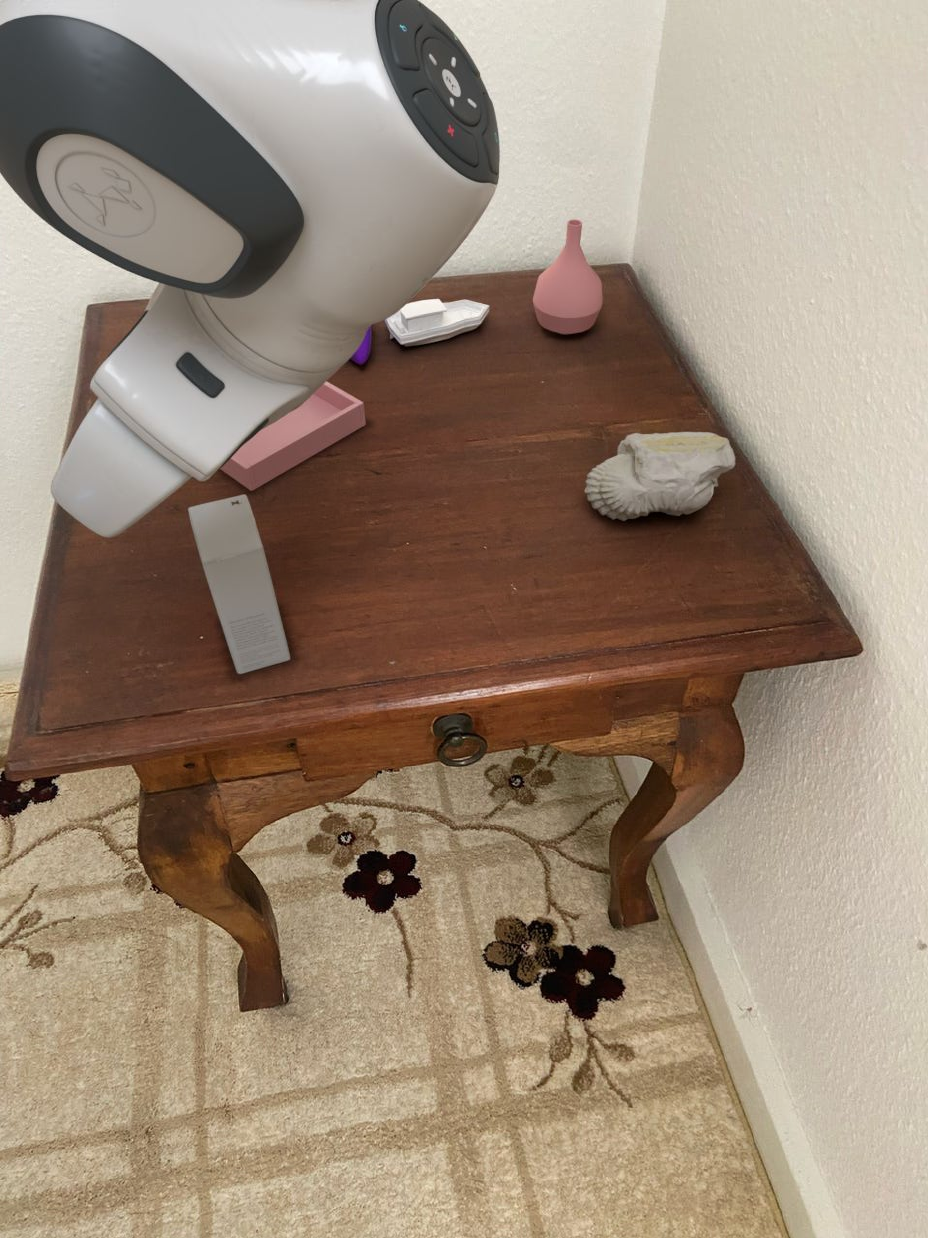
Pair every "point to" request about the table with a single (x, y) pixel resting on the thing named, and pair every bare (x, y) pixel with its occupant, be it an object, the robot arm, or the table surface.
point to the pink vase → (568, 289)
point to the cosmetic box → (240, 582)
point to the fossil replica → (659, 474)
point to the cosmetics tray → (296, 436)
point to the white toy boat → (434, 320)
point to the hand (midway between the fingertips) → (151, 444)
